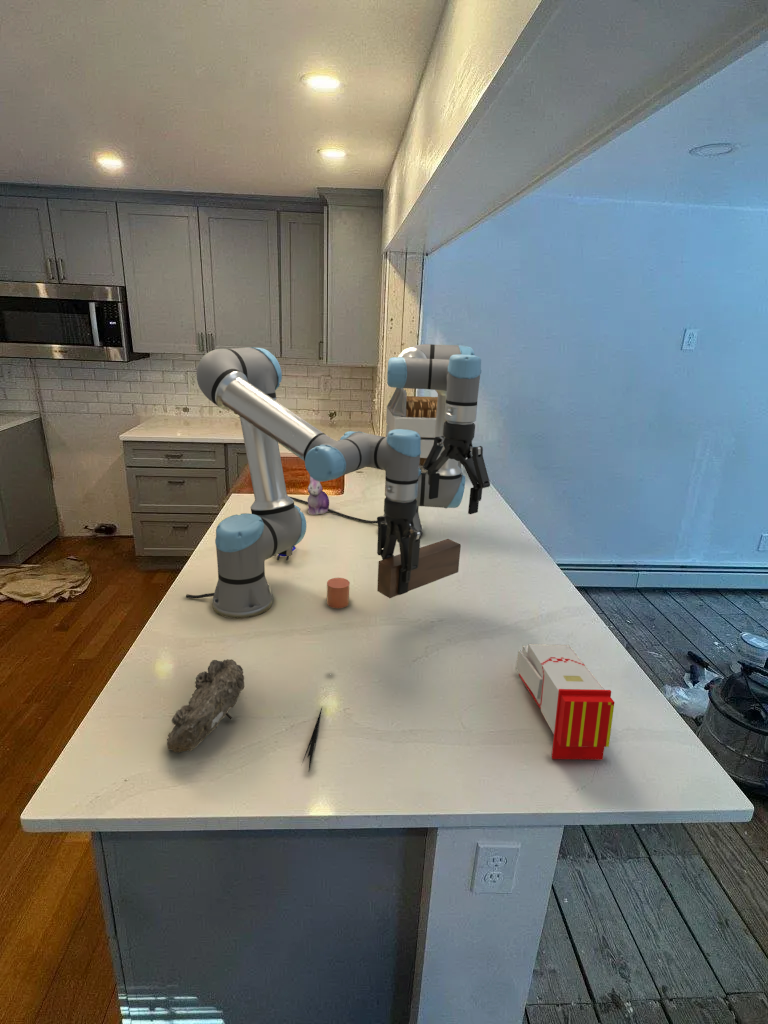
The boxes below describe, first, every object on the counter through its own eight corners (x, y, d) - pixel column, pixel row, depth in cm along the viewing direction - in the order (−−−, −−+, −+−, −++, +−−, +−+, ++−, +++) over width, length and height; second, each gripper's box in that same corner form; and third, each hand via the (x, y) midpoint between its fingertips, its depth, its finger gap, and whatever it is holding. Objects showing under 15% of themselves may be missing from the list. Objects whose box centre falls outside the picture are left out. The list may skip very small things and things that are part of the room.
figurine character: (292, 567, 173) (298, 543, 187) (292, 546, 170) (298, 523, 183) (270, 567, 173) (278, 542, 187) (269, 545, 170) (277, 522, 183)
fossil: (192, 660, 117) (244, 628, 112) (224, 691, 120) (276, 661, 115) (142, 746, 98) (202, 712, 93) (182, 779, 101) (242, 748, 96)
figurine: (311, 517, 211) (311, 478, 206) (301, 508, 220) (301, 471, 215) (334, 513, 216) (335, 476, 211) (324, 505, 224) (324, 469, 219)
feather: (331, 679, 122) (336, 673, 122) (307, 777, 96) (313, 769, 95) (324, 675, 122) (329, 669, 121) (298, 772, 95) (304, 764, 95)
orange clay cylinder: (322, 601, 152) (322, 581, 150) (340, 595, 156) (340, 575, 154) (335, 610, 148) (335, 590, 146) (353, 604, 151) (354, 583, 149)
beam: (377, 591, 137) (378, 561, 135) (445, 566, 152) (447, 538, 150) (389, 598, 134) (391, 567, 131) (458, 572, 149) (460, 544, 146)
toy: (564, 626, 126) (624, 698, 97) (558, 682, 129) (615, 767, 100) (510, 625, 126) (554, 696, 96) (506, 681, 128) (547, 766, 99)
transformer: (382, 463, 289) (386, 382, 275) (445, 464, 293) (451, 384, 279) (390, 482, 257) (394, 392, 243) (460, 483, 261) (468, 394, 247)
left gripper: (363, 490, 134) (360, 579, 142) (415, 512, 121) (408, 608, 129) (387, 485, 139) (383, 571, 147) (439, 505, 126) (432, 598, 134)
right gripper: (412, 414, 142) (407, 494, 150) (490, 433, 125) (480, 522, 132) (433, 412, 147) (428, 490, 154) (511, 429, 129) (501, 516, 137)
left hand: (395, 588), depth 138 cm, fingers closed on beam, 5 cm apart
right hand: (452, 505), depth 143 cm, fingers open, 13 cm apart
